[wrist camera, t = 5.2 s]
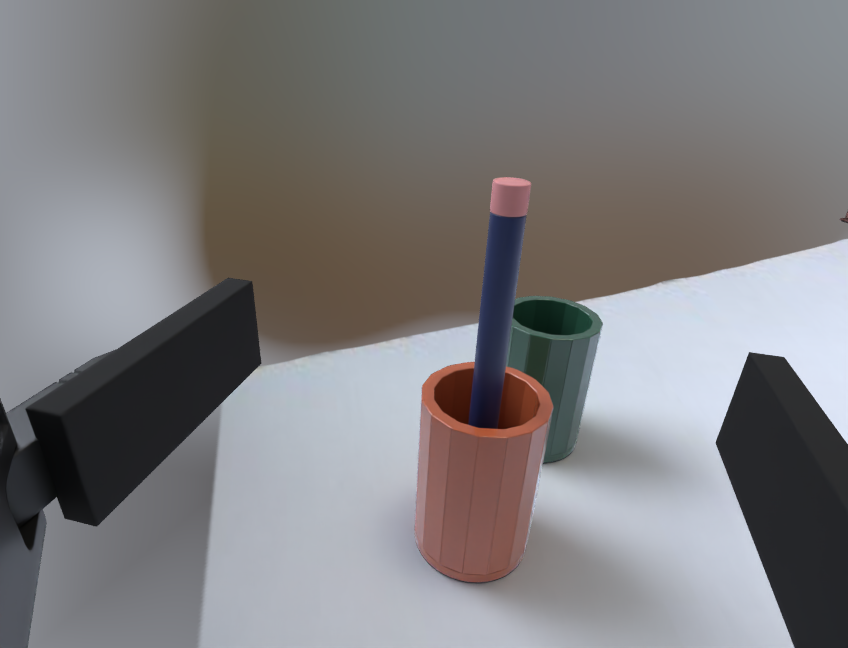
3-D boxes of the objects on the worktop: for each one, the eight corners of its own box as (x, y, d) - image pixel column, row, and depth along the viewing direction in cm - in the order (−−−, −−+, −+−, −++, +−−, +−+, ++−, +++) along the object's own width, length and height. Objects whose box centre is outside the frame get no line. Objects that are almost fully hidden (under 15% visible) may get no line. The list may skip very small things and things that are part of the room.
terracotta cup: (395, 555, 27) (399, 412, 23) (439, 480, 32) (449, 351, 28) (509, 601, 25) (535, 454, 21) (537, 514, 30) (563, 380, 26)
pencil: (453, 530, 28) (488, 182, 20) (462, 511, 29) (499, 175, 21) (479, 540, 28) (526, 187, 19) (487, 520, 29) (535, 180, 21)
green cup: (476, 446, 35) (490, 325, 31) (501, 399, 40) (516, 289, 36) (567, 474, 33) (595, 349, 29) (582, 421, 38) (607, 307, 34)
